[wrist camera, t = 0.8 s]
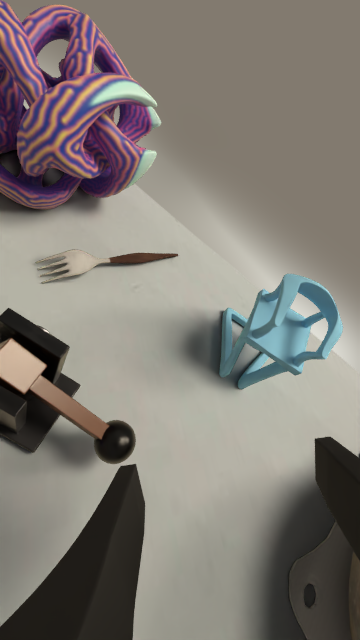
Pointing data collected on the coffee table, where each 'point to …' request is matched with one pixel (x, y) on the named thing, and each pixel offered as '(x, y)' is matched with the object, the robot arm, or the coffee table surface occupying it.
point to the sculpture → (68, 110)
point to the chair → (279, 330)
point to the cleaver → (324, 588)
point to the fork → (95, 261)
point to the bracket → (26, 410)
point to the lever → (62, 402)
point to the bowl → (354, 598)
